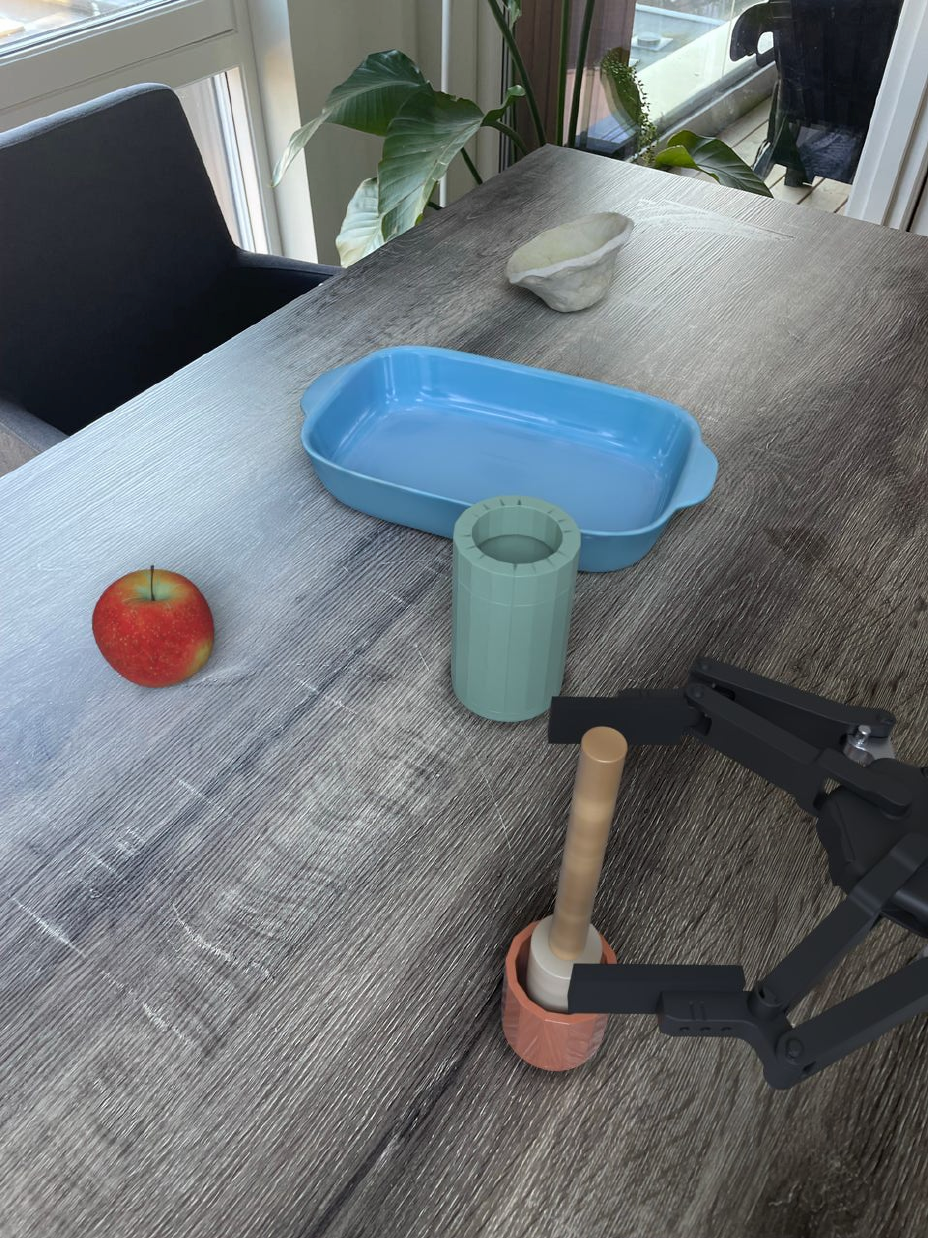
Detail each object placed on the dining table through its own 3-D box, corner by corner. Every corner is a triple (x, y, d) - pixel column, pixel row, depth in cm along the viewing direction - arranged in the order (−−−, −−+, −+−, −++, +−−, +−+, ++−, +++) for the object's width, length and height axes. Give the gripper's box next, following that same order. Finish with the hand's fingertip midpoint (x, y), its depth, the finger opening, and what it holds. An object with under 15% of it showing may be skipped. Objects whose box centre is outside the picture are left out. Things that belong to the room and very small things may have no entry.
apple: (101, 650, 75) (67, 549, 68) (207, 621, 78) (185, 520, 71) (121, 726, 70) (87, 625, 63) (234, 692, 73) (213, 591, 66)
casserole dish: (723, 469, 94) (739, 403, 89) (674, 624, 79) (690, 555, 74) (365, 389, 103) (361, 325, 98) (259, 515, 87) (248, 447, 82)
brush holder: (572, 1094, 53) (584, 1047, 49) (480, 1030, 55) (483, 980, 51) (624, 1006, 56) (639, 956, 52) (535, 950, 59) (542, 897, 55)
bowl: (524, 266, 124) (529, 183, 117) (635, 285, 121) (647, 202, 114) (485, 320, 114) (488, 233, 107) (605, 343, 110) (616, 255, 103)
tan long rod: (565, 1060, 54) (623, 797, 37) (508, 1022, 55) (540, 752, 38) (597, 1007, 56) (667, 735, 39) (542, 971, 57) (586, 695, 41)
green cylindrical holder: (524, 740, 70) (538, 594, 60) (428, 689, 73) (427, 542, 64) (582, 670, 75) (604, 525, 65) (490, 625, 78) (498, 480, 68)
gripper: (1132, 1184, 38) (572, 1180, 38) (918, 690, 56) (538, 685, 55) (1244, 1110, 33) (595, 1104, 32) (968, 591, 50) (548, 585, 50)
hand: (558, 839), depth 44 cm, fingers open, 13 cm apart
